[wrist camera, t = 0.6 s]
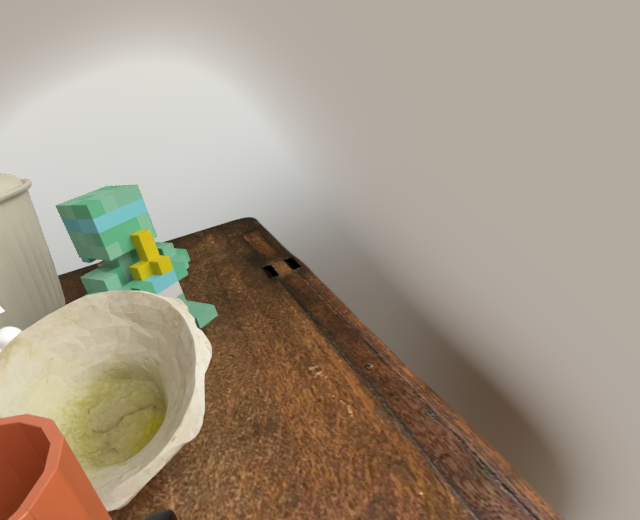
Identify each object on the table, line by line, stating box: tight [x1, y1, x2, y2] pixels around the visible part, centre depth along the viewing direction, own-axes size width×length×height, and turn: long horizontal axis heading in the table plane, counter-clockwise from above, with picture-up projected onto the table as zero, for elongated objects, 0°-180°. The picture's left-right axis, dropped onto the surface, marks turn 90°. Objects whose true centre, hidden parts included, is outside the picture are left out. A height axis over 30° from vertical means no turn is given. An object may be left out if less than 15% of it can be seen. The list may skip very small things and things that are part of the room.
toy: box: [56, 185, 218, 329], centre depth 43 cm, size 10×10×15 cm
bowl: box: [0, 290, 212, 512], centre depth 29 cm, size 15×14×10 cm
